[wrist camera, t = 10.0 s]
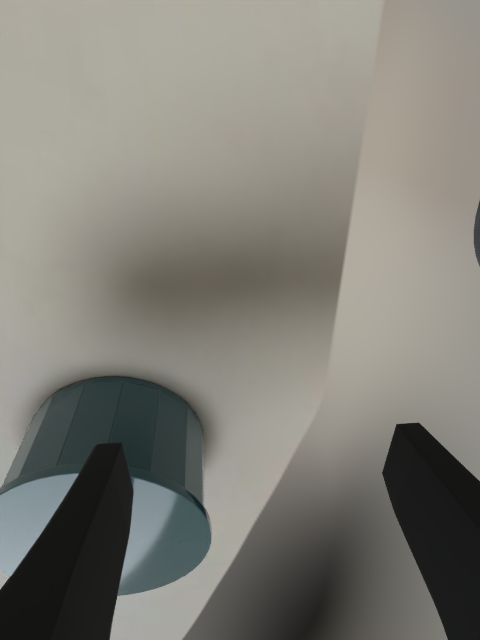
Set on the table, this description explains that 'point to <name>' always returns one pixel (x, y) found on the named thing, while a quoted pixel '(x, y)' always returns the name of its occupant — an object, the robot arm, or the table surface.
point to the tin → (116, 430)
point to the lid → (145, 531)
